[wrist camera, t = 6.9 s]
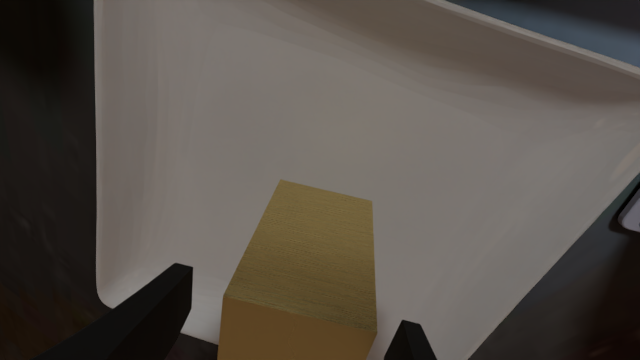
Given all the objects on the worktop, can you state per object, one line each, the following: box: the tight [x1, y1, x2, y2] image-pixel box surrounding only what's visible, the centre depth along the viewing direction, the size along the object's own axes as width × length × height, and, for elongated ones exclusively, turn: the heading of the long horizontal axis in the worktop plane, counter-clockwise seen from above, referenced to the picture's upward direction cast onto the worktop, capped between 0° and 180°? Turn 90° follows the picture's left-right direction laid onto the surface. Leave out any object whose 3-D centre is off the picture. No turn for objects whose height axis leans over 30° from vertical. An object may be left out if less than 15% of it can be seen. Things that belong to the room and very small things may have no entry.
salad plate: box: [94, 0, 640, 360], centre depth 17 cm, size 21×21×3 cm
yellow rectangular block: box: [217, 179, 377, 360], centre depth 12 cm, size 4×4×6 cm
